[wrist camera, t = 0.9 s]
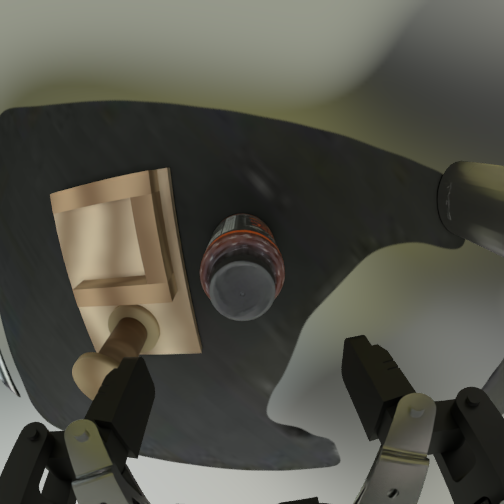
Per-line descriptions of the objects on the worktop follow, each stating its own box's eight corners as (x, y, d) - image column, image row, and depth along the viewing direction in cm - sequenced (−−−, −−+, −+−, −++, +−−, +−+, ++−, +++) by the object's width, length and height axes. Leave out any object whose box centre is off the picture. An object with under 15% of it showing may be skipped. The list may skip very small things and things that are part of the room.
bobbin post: (152, 301, 28) (119, 361, 18) (165, 347, 30) (143, 412, 20) (104, 303, 28) (62, 357, 18) (120, 347, 29) (89, 405, 20)
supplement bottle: (285, 240, 27) (313, 291, 17) (243, 282, 28) (246, 351, 18) (240, 198, 26) (240, 224, 15) (198, 243, 27) (173, 296, 16)
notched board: (169, 167, 25) (159, 168, 21) (202, 347, 31) (198, 367, 27) (55, 193, 25) (36, 198, 21) (99, 348, 31) (89, 364, 27)
